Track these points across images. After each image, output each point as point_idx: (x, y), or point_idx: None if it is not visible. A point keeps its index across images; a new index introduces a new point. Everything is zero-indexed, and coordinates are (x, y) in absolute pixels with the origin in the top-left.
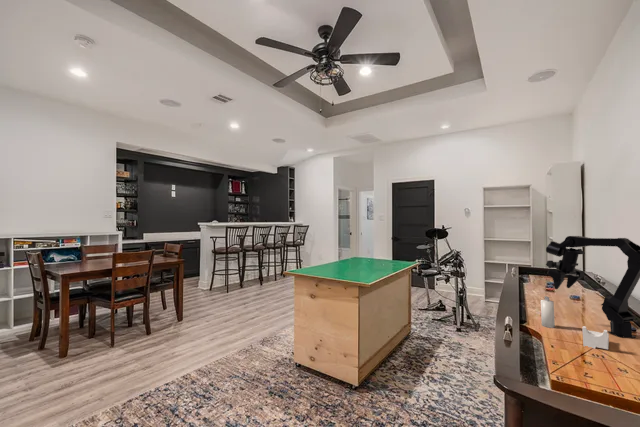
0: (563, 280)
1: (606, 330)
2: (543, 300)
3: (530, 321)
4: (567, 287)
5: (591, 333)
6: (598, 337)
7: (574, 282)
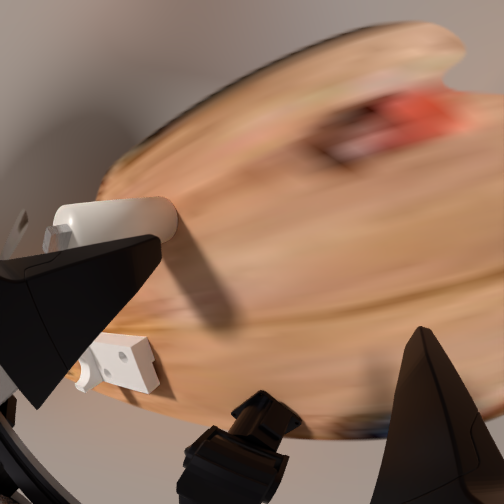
0: (48, 387)
1: (82, 390)
2: (63, 220)
3: (167, 145)
4: (414, 336)
5: (84, 359)
6: (82, 368)
7: (383, 479)
